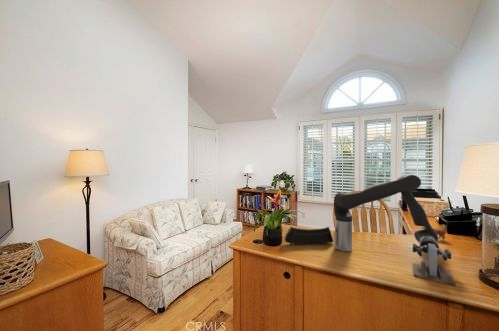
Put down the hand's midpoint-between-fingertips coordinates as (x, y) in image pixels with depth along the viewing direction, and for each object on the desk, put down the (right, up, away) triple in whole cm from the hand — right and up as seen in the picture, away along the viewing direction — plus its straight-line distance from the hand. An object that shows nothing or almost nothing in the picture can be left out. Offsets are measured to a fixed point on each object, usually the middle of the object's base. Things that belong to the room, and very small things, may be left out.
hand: (432, 256), depth 101 cm
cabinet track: (0, -9, +1) cm, 9 cm away
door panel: (0, -8, +1) cm, 8 cm away
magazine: (-47, -8, +38) cm, 60 cm away
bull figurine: (+38, -8, +46) cm, 60 cm away
